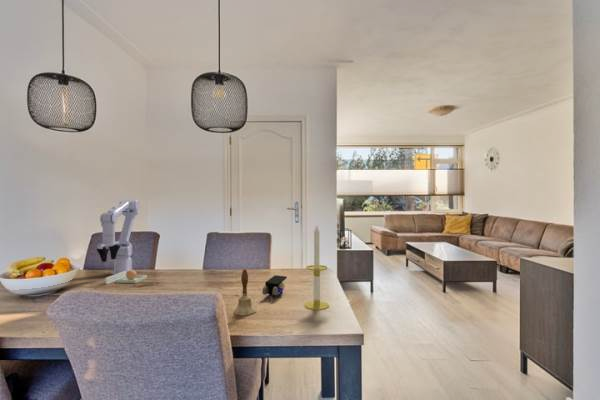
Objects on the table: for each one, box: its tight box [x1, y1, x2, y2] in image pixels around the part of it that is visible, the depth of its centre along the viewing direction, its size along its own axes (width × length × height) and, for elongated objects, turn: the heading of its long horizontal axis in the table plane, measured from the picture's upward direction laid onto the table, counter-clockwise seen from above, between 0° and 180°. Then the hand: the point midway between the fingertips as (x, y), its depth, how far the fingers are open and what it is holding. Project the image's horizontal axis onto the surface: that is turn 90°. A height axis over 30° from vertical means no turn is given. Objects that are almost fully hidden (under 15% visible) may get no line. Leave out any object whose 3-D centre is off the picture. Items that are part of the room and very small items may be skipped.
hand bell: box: [233, 268, 257, 317], centre depth 123 cm, size 8×8×16 cm
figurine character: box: [261, 275, 287, 300], centre depth 144 cm, size 7×8×15 cm
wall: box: [104, 271, 126, 285], centre depth 171 cm, size 16×1×3 cm, turn 176°
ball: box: [126, 269, 137, 280], centre depth 171 cm, size 5×5×5 cm
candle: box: [304, 225, 330, 311], centre depth 130 cm, size 10×10×32 cm
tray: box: [115, 274, 148, 284], centre depth 171 cm, size 11×11×1 cm
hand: (108, 260), depth 174 cm, fingers open, 7 cm apart
